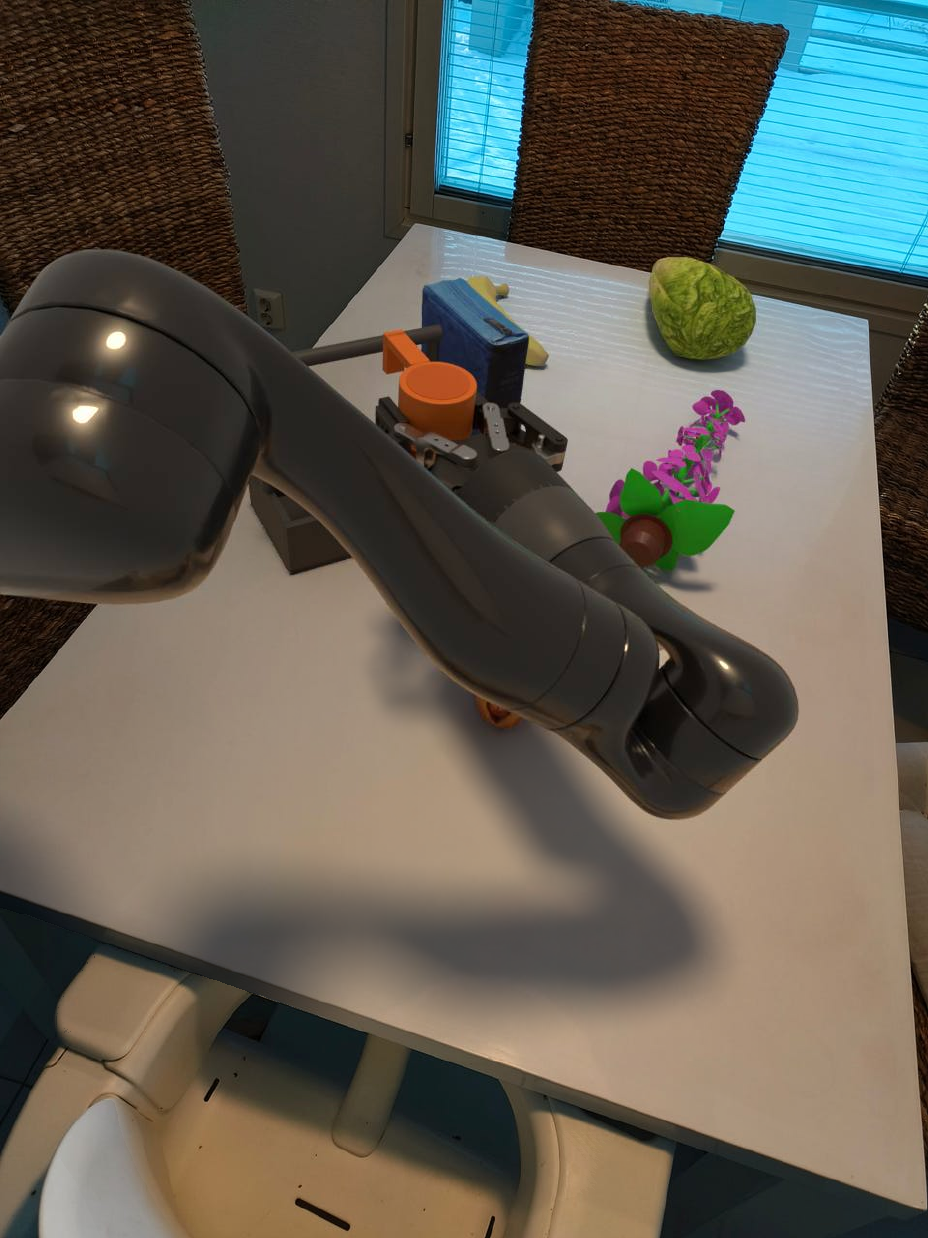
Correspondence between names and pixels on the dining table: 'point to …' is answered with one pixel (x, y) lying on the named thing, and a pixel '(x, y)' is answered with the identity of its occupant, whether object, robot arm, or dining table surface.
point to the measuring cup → (430, 389)
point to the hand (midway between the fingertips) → (420, 399)
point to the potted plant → (674, 495)
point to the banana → (489, 292)
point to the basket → (282, 516)
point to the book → (477, 340)
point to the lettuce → (700, 308)
